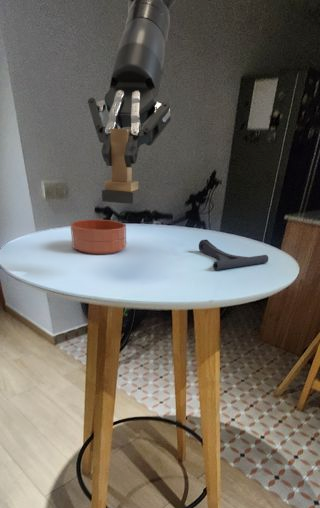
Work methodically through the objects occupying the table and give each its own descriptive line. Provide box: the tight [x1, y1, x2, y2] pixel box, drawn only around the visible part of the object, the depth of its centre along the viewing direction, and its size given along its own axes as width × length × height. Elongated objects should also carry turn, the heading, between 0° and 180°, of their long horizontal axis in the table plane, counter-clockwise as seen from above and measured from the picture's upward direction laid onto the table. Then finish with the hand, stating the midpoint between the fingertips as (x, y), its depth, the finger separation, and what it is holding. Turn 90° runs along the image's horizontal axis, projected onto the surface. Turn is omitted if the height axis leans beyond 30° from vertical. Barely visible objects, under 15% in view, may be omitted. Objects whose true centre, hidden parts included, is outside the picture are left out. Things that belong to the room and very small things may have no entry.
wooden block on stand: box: [101, 128, 142, 205], centre depth 58 cm, size 5×5×10 cm
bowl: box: [69, 219, 127, 255], centre depth 83 cm, size 12×12×5 cm
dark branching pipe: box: [198, 239, 269, 271], centre depth 81 cm, size 14×15×3 cm
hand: (117, 161), depth 56 cm, fingers closed on wooden block on stand, 2 cm apart
